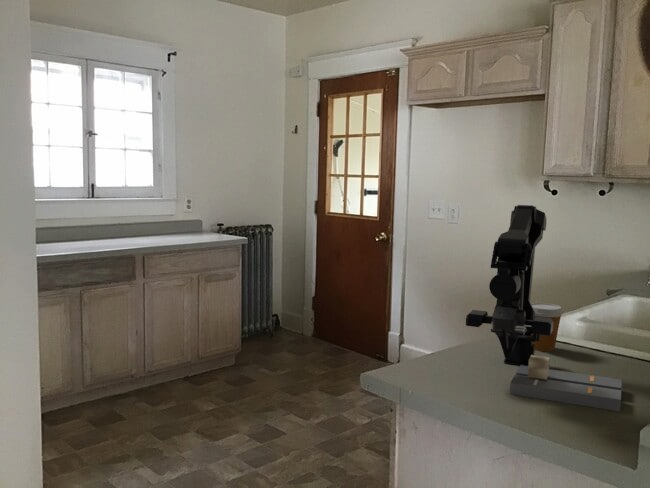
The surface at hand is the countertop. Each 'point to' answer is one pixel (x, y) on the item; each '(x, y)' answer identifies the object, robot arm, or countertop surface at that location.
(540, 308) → the disposable coffee cup
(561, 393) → the fader console
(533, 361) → the fader knob
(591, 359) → the countertop surface
